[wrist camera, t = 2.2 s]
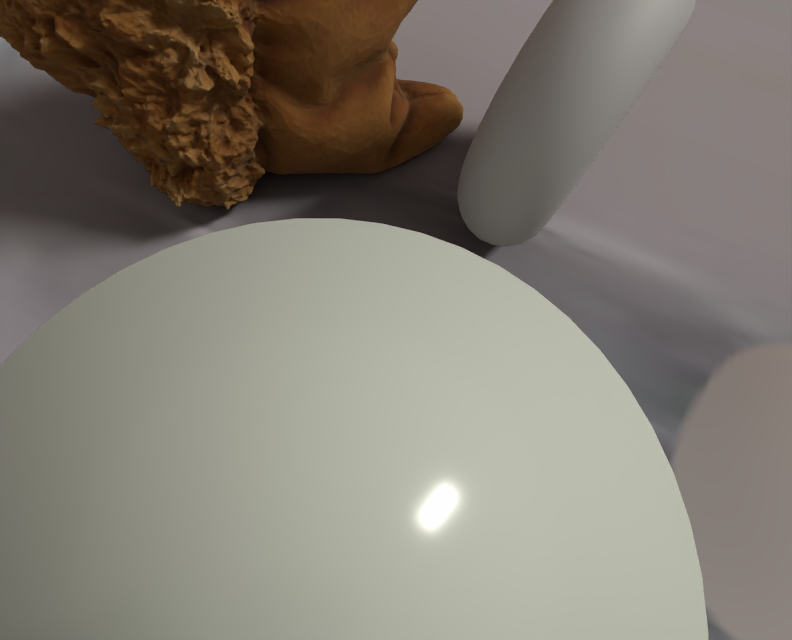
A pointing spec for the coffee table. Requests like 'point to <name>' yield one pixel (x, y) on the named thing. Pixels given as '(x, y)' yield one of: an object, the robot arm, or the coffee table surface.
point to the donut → (561, 109)
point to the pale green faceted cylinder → (331, 455)
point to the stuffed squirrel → (238, 85)
